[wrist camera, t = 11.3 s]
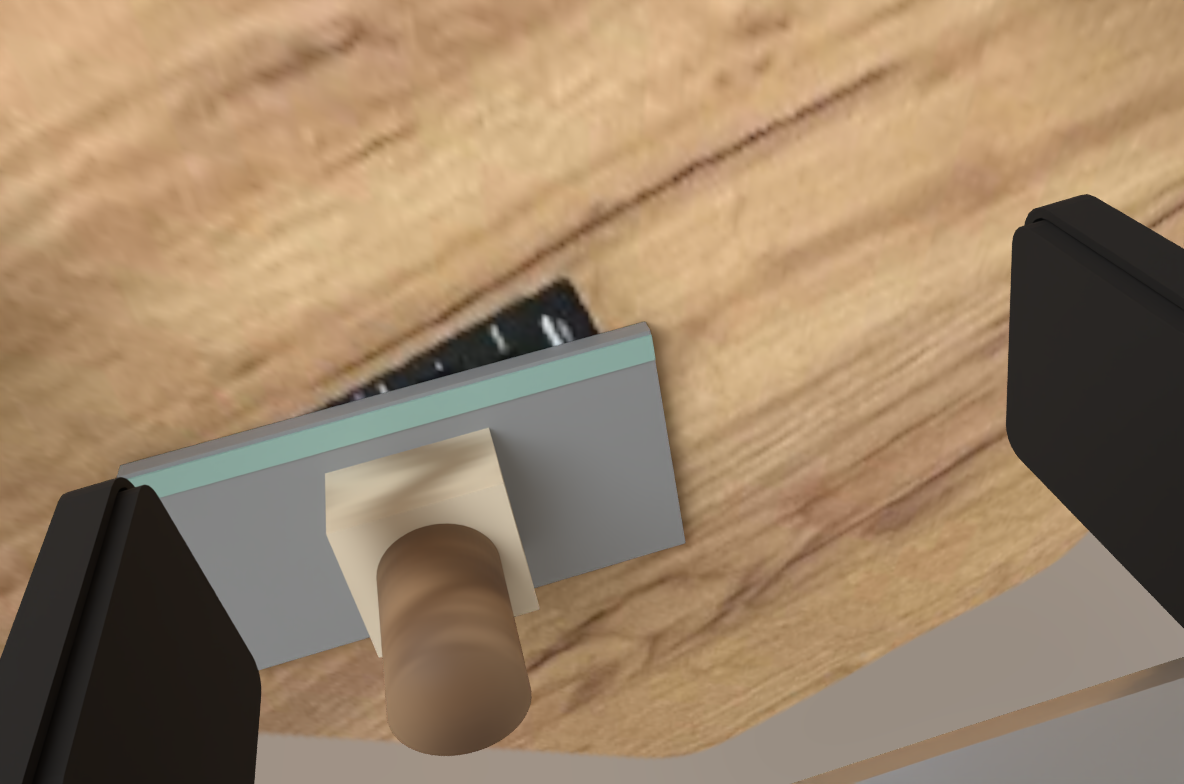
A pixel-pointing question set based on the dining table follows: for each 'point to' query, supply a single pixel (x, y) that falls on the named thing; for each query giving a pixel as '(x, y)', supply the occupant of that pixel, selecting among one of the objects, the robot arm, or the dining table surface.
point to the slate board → (410, 420)
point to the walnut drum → (449, 642)
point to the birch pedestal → (422, 513)
